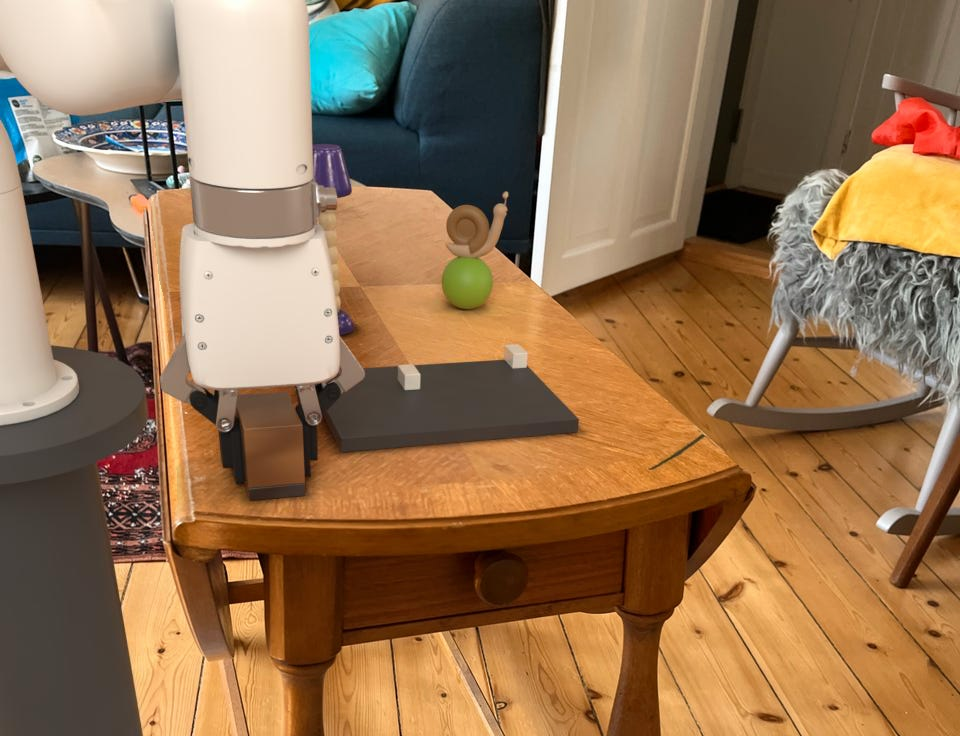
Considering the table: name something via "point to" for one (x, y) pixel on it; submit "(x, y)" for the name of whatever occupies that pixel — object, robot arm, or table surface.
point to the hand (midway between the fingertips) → (270, 469)
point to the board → (446, 407)
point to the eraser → (271, 445)
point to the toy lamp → (332, 211)
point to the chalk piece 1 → (409, 377)
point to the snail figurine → (471, 254)
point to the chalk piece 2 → (515, 356)
